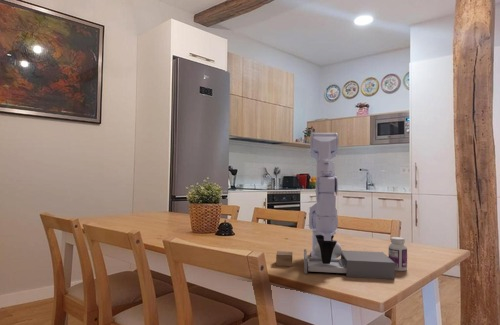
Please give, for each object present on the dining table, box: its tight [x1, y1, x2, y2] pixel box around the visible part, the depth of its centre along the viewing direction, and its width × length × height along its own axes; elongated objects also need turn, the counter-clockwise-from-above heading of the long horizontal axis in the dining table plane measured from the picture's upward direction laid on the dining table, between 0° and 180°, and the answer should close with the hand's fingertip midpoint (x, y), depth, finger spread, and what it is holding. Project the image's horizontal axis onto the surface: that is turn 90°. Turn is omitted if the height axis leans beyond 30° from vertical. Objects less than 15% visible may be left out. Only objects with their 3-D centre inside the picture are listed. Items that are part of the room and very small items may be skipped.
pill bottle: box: [388, 236, 408, 272], centre depth 114 cm, size 5×5×10 cm
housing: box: [340, 249, 396, 280], centre depth 110 cm, size 14×13×5 cm
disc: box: [315, 242, 343, 259], centre depth 111 cm, size 8×8×2 cm
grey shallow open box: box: [303, 248, 347, 275], centre depth 112 cm, size 14×13×4 cm
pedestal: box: [275, 250, 293, 267], centre depth 117 cm, size 5×5×4 cm
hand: (325, 260), depth 112 cm, fingers closed on disc, 7 cm apart
